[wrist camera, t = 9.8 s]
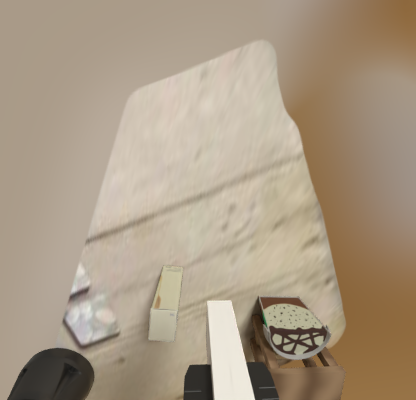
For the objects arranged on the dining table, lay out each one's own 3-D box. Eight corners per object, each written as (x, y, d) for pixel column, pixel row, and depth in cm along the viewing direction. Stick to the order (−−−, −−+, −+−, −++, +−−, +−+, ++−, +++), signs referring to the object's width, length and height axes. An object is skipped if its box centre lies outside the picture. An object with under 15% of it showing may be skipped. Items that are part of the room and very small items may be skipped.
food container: (248, 319, 46) (262, 362, 37) (251, 295, 45) (267, 333, 35) (300, 319, 47) (327, 362, 37) (304, 296, 46) (334, 334, 36)
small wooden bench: (248, 346, 48) (266, 414, 35) (250, 315, 46) (270, 375, 33) (301, 344, 49) (338, 410, 36) (305, 313, 47) (345, 371, 34)
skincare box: (163, 264, 42) (150, 306, 30) (183, 266, 43) (178, 308, 31) (160, 291, 44) (146, 342, 32) (180, 293, 44) (174, 343, 32)
